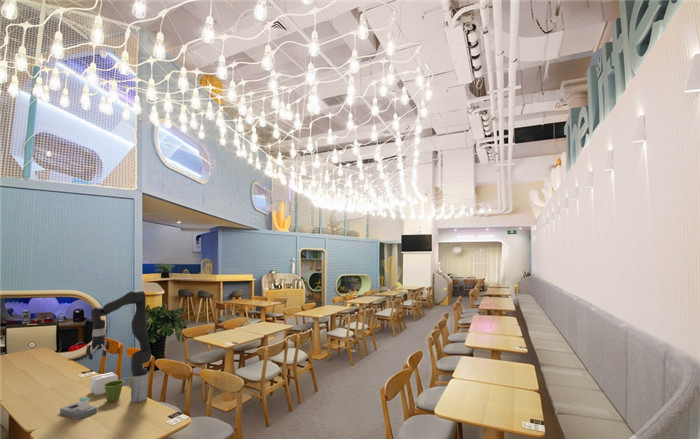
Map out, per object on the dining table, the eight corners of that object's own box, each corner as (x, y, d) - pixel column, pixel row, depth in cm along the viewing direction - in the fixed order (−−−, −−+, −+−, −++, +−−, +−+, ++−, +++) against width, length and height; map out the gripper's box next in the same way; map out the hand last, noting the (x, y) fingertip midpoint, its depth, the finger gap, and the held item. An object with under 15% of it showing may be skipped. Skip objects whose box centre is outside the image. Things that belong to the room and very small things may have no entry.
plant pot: (101, 405, 229) (102, 387, 230) (104, 398, 239) (105, 382, 240) (122, 401, 234) (123, 384, 235) (124, 395, 245) (125, 379, 246)
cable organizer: (92, 396, 243) (93, 379, 244) (89, 392, 250) (90, 376, 251) (117, 390, 253) (118, 374, 255) (113, 386, 261) (114, 371, 262)
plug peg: (88, 413, 217) (89, 397, 218) (81, 416, 214) (82, 399, 215) (84, 412, 218) (85, 396, 219) (78, 415, 215) (79, 398, 216)
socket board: (96, 412, 219) (97, 407, 219) (79, 419, 209) (79, 413, 210) (77, 407, 226) (77, 401, 227) (59, 413, 217) (60, 408, 217)
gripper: (91, 337, 241) (89, 361, 239) (112, 333, 254) (110, 355, 252) (84, 336, 244) (83, 360, 242) (105, 332, 257) (104, 354, 255)
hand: (97, 357), depth 247 cm, fingers open, 8 cm apart
